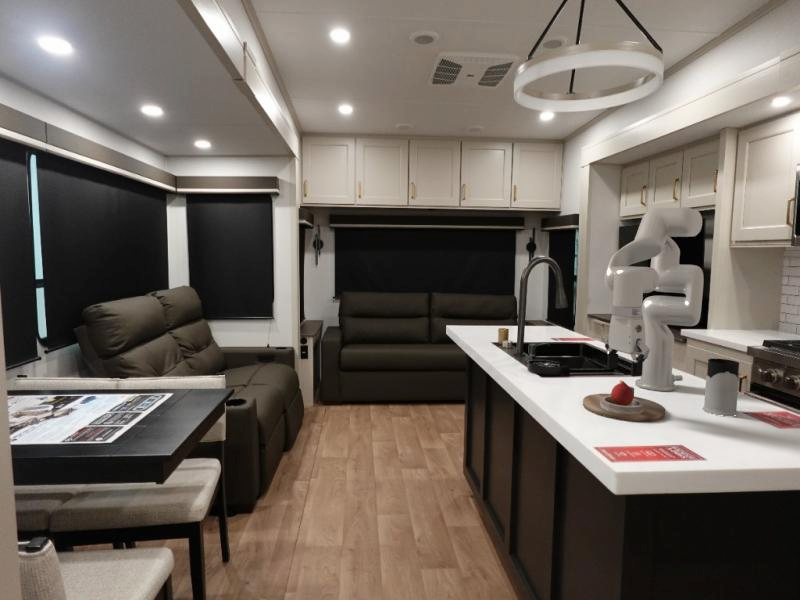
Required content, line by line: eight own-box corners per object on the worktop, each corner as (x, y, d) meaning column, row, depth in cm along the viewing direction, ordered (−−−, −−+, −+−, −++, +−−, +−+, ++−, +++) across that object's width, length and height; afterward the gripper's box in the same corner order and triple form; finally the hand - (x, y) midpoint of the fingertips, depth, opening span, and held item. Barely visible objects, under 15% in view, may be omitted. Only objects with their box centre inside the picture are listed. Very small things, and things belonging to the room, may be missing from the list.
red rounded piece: (628, 405, 141) (629, 378, 141) (635, 411, 136) (637, 383, 135) (607, 404, 142) (609, 377, 141) (614, 410, 136) (615, 382, 136)
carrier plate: (627, 396, 156) (628, 382, 155) (683, 418, 135) (685, 402, 134) (567, 400, 150) (568, 386, 150) (616, 424, 129) (617, 408, 129)
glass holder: (706, 414, 138) (710, 363, 137) (693, 400, 152) (697, 353, 151) (742, 418, 136) (746, 365, 134) (726, 403, 149) (729, 355, 148)
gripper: (661, 315, 129) (658, 378, 131) (617, 308, 146) (614, 363, 147) (638, 317, 127) (634, 380, 129) (595, 308, 144) (593, 365, 146)
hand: (624, 371), depth 138 cm, fingers open, 9 cm apart
